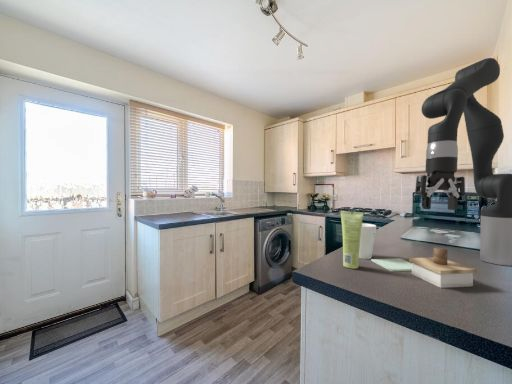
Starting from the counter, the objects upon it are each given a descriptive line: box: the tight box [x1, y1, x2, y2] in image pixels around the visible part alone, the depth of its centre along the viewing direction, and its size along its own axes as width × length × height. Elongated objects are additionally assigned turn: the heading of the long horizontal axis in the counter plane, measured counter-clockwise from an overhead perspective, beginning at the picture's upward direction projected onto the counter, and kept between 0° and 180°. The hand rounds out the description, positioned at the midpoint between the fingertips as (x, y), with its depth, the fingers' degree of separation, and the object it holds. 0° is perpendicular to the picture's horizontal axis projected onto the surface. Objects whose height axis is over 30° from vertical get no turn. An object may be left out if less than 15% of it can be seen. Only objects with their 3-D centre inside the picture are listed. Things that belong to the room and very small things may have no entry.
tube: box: [340, 210, 364, 270], centre depth 77 cm, size 6×5×20 cm
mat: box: [370, 257, 412, 273], centre depth 79 cm, size 12×11×1 cm
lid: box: [408, 246, 478, 274], centre depth 66 cm, size 11×11×5 cm
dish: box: [411, 262, 474, 289], centre depth 66 cm, size 10×10×4 cm
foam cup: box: [359, 222, 377, 260], centre depth 89 cm, size 10×9×13 cm
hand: (439, 209), depth 68 cm, fingers open, 8 cm apart
